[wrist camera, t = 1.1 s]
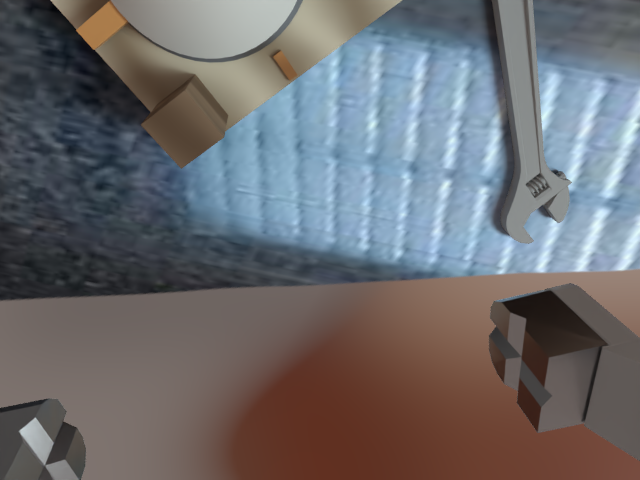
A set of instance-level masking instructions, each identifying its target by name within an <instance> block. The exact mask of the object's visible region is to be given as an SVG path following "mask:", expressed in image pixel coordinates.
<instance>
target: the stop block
mask: <svg viewBox="0 0 640 480" xmlns="http://www.w3.org/2000/svg"><path fill="white" fill-rule="evenodd" d="M227 120H228V114H227V113H226V112H225V111H224V109H223V108H222V107H221V106H220V104H219V103H218V102H217V101H216V99H215V98H214V97H213V95H212V94H211V93H210V92H209V90H208V89H207V88H206V87H205V85H204V84H203V83H202V82H201V80H200V79H199V78H198V77H197V75H196V74H195V75H194V76H192V77H191V78H190V79H189V80H187V81H186V82H185V83H184V84H182V85H181V86H180V87H178V88H177V89H176V90H175V91H173V92H172V93H171V94H170V95H168V96H167V97H166V98H164V99H163V100H162V101H161V102H159V103H158V104H157V105H156V106H155V108H154V109H153V110H152V111H151V113H150V114H149V115H148V116H147V118H146V119H145V120H144V121H143V123H142V124H141V126H142V127H143V128H144V129H145V130H146V131H147V132H148V133H149V134H150V135H151V136H152V137H153V139H154V140H155V141H156V142H157V143H158V144H159V145H160V146H161V147H162V148H163V149H164V150H165V152H166V153H167V154H168V155H169V156H170V157H171V158H172V159H173V160H174V161H175V162H176V163H177V165H178V166H179V167H180V168H181V169H182V168H183V167H184V166H186V165H187V164H188V163H190V162H191V161H192V160H194V159H195V158H197V157H198V156H199V155H201V154H202V153H203V152H205V151H206V150H207V149H209V148H210V147H211V146H213V145H214V144H215V143H217V142H218V141H220V140H221V139H222V138H224V135H225V130H226V125H227Z"/></svg>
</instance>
